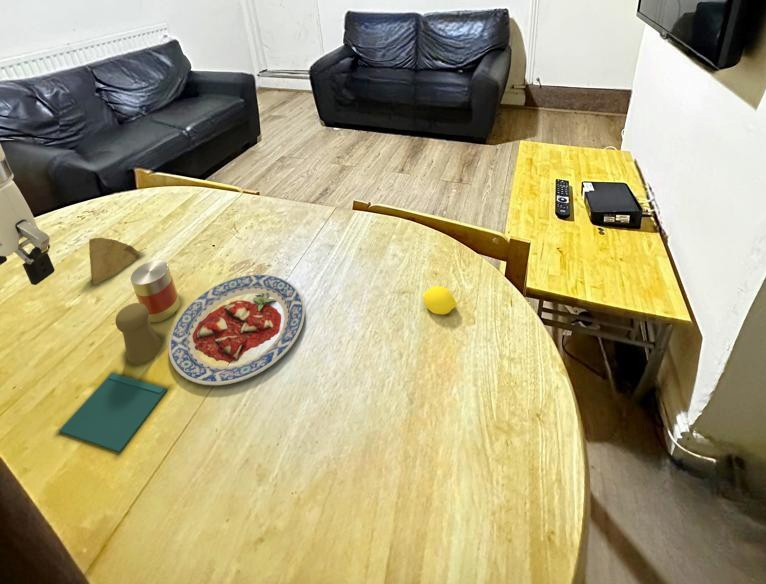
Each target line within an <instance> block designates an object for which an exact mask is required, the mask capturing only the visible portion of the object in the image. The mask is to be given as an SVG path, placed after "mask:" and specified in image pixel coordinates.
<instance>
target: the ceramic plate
mask: <svg viewBox="0 0 766 584" xmlns="http://www.w3.org/2000/svg"><path fill="white" fill-rule="evenodd" d="M253 294H255V295H254V297H253V298H252V300H253V301H255V302H256V303H252V302H251V301H250V300H243V299H242V300H235V301H231V302H230V303H227V304H224V303H225V302H227V301H229V300H231V299H234V298H236V297H240V296H244V295H253ZM268 297H270V298H268ZM274 301H276V302H277V303H278V304H279V305H280V307H281V308H282V312H283V325H282V328H281V323H282V315H281V313H280V312H279V311H278V309H277V308H275V307H274V306H272V305H271V304H270V303H269V302H274ZM222 304H223V305H222ZM257 304H259V305H257ZM220 305H221V306H220ZM218 306H219V308H217V307H218ZM216 308H217V309H216ZM214 309H215V310H214ZM305 313H306V308H305V301H304V299H303V296H302V294H301V293H300V291H299V290H298V289H297V287H296V286H294V284H292V283H291V282H289V281H288V280H286V279H284V278H282V277H279V276H276V275H272V274H271V275H269V274H248V275H242V276H238V277H234V278H231V279H228V280H226V281H223V282H221V283H219V284H217V285H215V286H213V287H211V288H209V289H208V290H206V291H205V292H203V293H202V294H200V295H199V296H198V297H197V298H195V299H194V300H193V301H192V302H191V303H189V305H188V306H187V307H186V308H185V309H184V310H183V312H182V313H181V314H180V315H179V317H178V318H177V320H176V321H175V323H174V325H173V327H172V330H171V331H170V336H169V340H168V346H167V347H168V356H169V360H170V362H171V365H172V367H173V368H174V369H175V370H176V372H177V373H178V374H179V375H180V376H182V377H183V378H185V379H186V380H187V381H190V382H193V383H195V384H198V385H204V386H223V385H224V386H225V385H230V384H235V383H239V382H242V381H245V380H247V379H250V378H252V377H254V376H256V375H258V374H260V373H262V372H264V371H266V370H267V369H268V368H270V367H272V366H273V365H274V364H276V362H278V361H279V360H280V359H282V357H283V356H284V355H285V354H286V353H287V352H288V351H289V350H290V349H291V348H292V346H293V345H294V343H295V342H296V340H297V339H298V337H299V335H300V333H301V331H302V328H303V325H304V322H305V315H306V314H305ZM280 329H281V330H280ZM278 334H279V335H278ZM276 335H278V336H277V338H276V339H275V340H274V342H273V343H272V344H271V345H270V346H269V347H268V348H267V349H266V350H265V351H263V352H262V353H261V354H259V355H258V356H256V357H254V358H252V359H250V360H248V361H246V362H245V361H244V362H243V363H239V364H236V365H228V366H227V365H226V366H225V365H215V364H211V363H209V362H208V361H206V360H204V359H203V358H202V357H201V356H200V355H199V353H198V351H199V352H202V353H203V355H206V356H207V357H208V358H213V359H214V360H215V361H216V362H219V361H224V362H226V363H229V364H230V363H232V362H237V361H238V360H239V359H240V357H241V356H242V355H244V353H246V352H247V351H249V350H250V349H252V348H258V347H259V346H260V345H262V344H264V343H265V342H267V341H271V340H272V339H271V338H274V337H275V336H276ZM197 350H198V351H197Z"/></svg>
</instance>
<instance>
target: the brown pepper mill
mask: <svg viewBox="0 0 766 584" xmlns="http://www.w3.org/2000/svg"><path fill="white" fill-rule="evenodd" d="M148 317H149V312H148V309H147V307H146V306H145V305H143V304H141V303H139V302H133V303H130V304H128V305H126V306H124V307H123V308H121V309H120V310H119V311H118V312H117V314H116V317H115V320H114V322H115V326H116V328H117V330H118V331H120V332H121V333H122V336H123V342H124V346H125V352H126V357H127V361H128V362H129V363H131V364H133V365H138V364H143V363H146V362H148V361H150V360H151V359H153V358H154V357H156V355H157V354H158V353H159V351H161V348H162V343H163V342H162V339H161V338H160V337H159V334H158V332H157V331H156V330H155V328H154V326H153V325H152V322H149V320H148Z"/></svg>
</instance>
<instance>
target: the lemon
mask: <svg viewBox="0 0 766 584" xmlns="http://www.w3.org/2000/svg"><path fill="white" fill-rule="evenodd" d="M422 297H423V302H424V304H425V307H426V308H427V309H428V310H429V311H430V312H431V313H432V314H435V315H443V316H444V315H447V314H449V313H450V312H451V311H452V310H453V309H455V308H456V307H457V304H458V303H457V301H456V299H455V297H454V296H453V294H452V293H451V291H450V290H449V288H448V289H447V288H446V287H444V286H441V285H434V286H432V287H430V288H428V289H427V290H426V291H425V292H424V293H423V296H422Z"/></svg>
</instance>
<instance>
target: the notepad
mask: <svg viewBox="0 0 766 584" xmlns="http://www.w3.org/2000/svg"><path fill="white" fill-rule="evenodd" d="M167 392H168V388H167V387H164V386H160V385H157V384H153V383H149V382H145V381H142V380H139V379H136V378H131V377H128V376H126V375H125V376H124V375H122V374H118V373H114V372H111V373H110V374H109V375H108V376H107V377H106V378H105V380H104V381H103V382H102V383H101V384H100V385H99V386H98V387H97V388H96V389H95V390H94V392H93V393H92V394H91V395H90V396H89V397H88V398H87V399H86V400H85V402H84V403H83V404H82V405H81V406H80V407H79V408H78V409H77V411H75V412H74V413H73V415H72V416H71V417H70V418H69V419H68V420H67V422H66V423H64V424H63V426H62V427H61V428H60V429H59V430H58V432H59V433H61V434H64V435H66V436H69V437H72V438H74V439H78V440H81V441H82V442H83V441H84V442H87V443H89V444H92V445H96V446H98V447H101V448H104V449H107V450H110V451H113V452H116V453H119V454H120V453H122V451H123V450H124V449H125V448H126V446H127V445H128V443H130V441H131V439H133V437H134V436H135V434H136V433H137V431H138V430H139V429H140V427H141V426H142V425H143V424H144V422H145V421H146V420H147V418H148V417H149V416H150V414H151V413H152V411H153V410H154V409H155V408H156V406H157V405H158V404H159V402H160V401H161V400H162V398H163V397H164V396H165V394H166V393H167Z"/></svg>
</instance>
